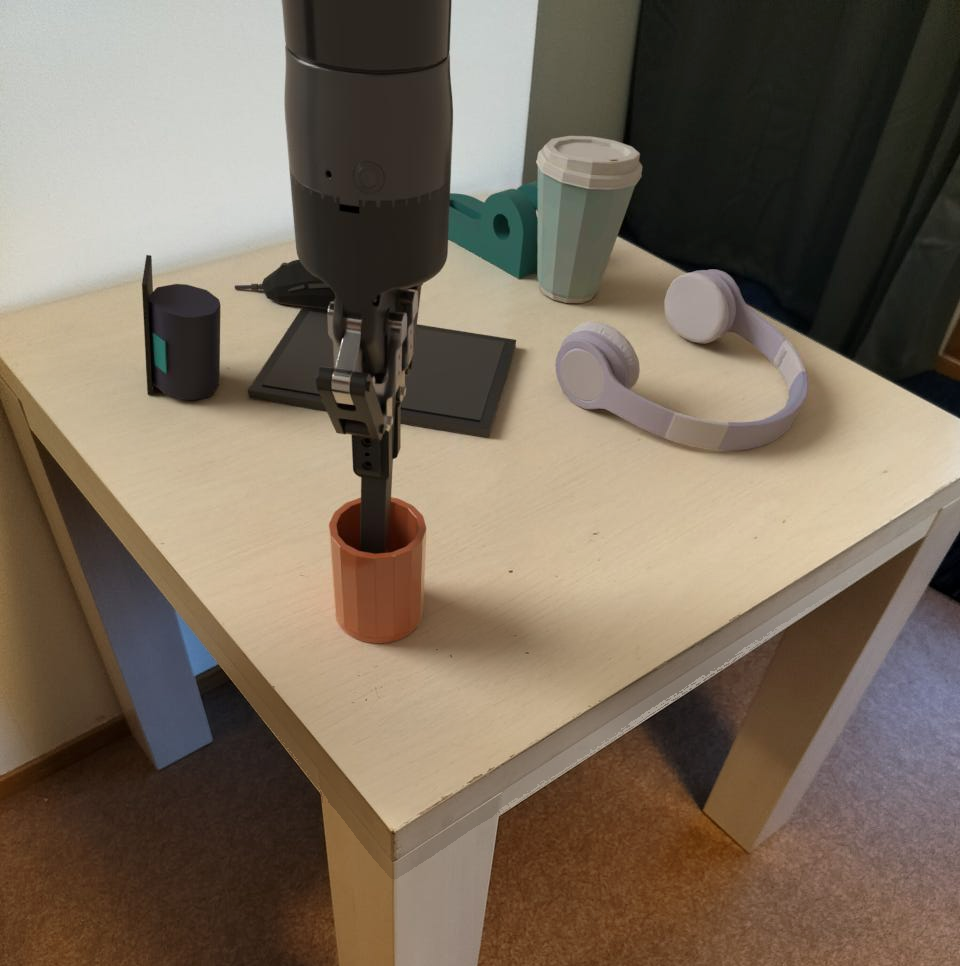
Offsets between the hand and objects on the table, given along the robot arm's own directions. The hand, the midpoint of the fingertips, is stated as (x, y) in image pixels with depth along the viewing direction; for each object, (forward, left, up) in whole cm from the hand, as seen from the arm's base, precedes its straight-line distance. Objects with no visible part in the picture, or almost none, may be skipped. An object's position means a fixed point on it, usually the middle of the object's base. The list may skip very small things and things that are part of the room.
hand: (377, 464), depth 54 cm
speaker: (-24, +24, -13) cm, 36 cm away
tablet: (-7, +31, -13) cm, 34 cm away
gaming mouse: (-19, +43, -13) cm, 49 cm away
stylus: (0, 0, -8) cm, 8 cm away
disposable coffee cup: (+8, +53, -13) cm, 55 cm away
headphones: (+22, +36, -13) cm, 44 cm away
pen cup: (0, 0, -13) cm, 13 cm away
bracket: (-3, +62, -13) cm, 63 cm away
